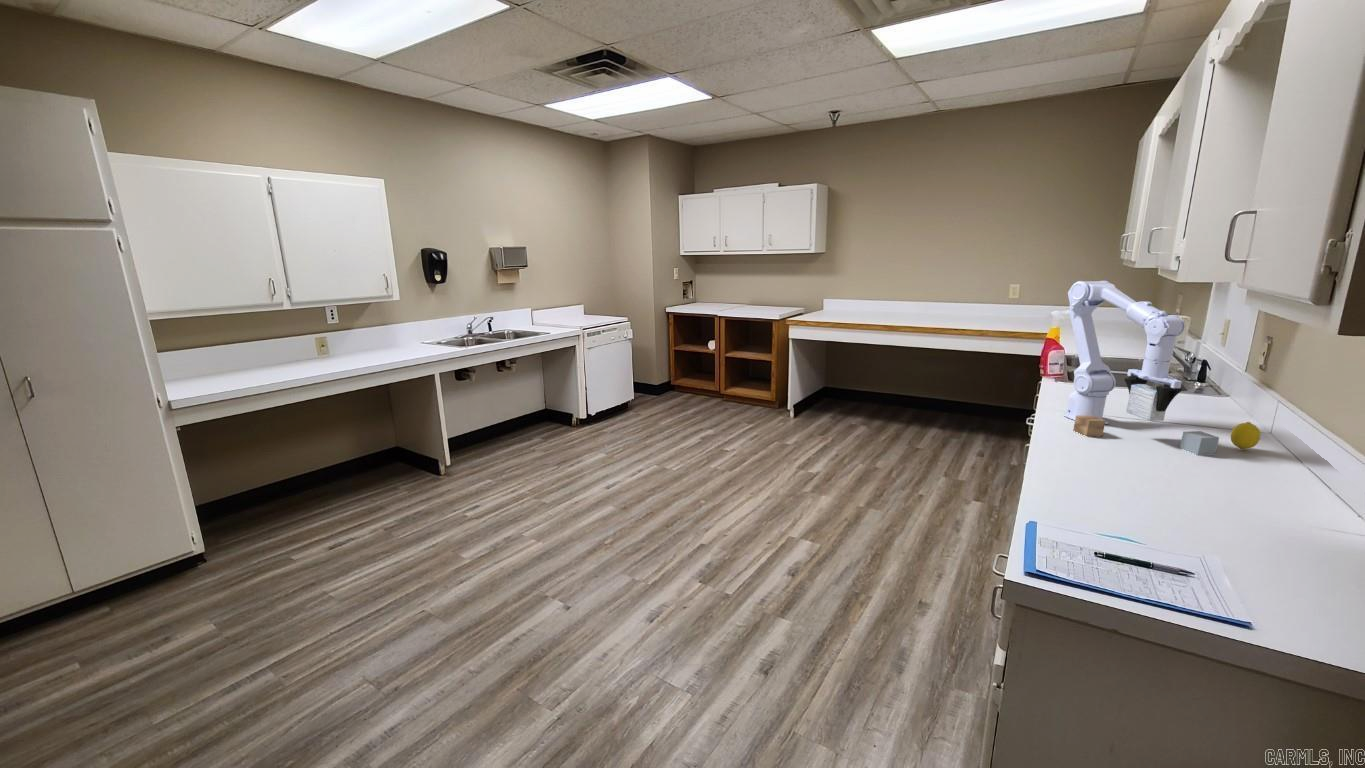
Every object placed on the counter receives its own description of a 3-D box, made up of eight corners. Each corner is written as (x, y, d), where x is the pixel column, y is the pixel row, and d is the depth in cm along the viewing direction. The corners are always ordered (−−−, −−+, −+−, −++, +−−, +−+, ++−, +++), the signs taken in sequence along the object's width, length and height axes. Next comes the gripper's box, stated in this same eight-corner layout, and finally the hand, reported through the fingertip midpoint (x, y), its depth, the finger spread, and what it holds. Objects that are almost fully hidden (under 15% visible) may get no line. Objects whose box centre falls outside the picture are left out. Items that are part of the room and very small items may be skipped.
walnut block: (1073, 431, 165) (1075, 415, 164) (1088, 430, 165) (1091, 415, 164) (1085, 437, 160) (1089, 420, 159) (1102, 436, 160) (1105, 420, 159)
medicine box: (1164, 421, 152) (1171, 391, 150) (1148, 421, 152) (1155, 391, 150) (1139, 412, 160) (1146, 383, 157) (1125, 412, 159) (1131, 383, 157)
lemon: (1243, 446, 152) (1250, 419, 149) (1261, 454, 146) (1269, 425, 144) (1221, 446, 152) (1228, 418, 150) (1239, 453, 147) (1246, 425, 145)
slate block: (1179, 448, 151) (1183, 431, 149) (1196, 448, 151) (1200, 431, 150) (1197, 455, 146) (1201, 438, 144) (1214, 455, 146) (1219, 437, 145)
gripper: (1121, 354, 158) (1112, 399, 162) (1168, 365, 144) (1157, 414, 148) (1144, 354, 159) (1135, 399, 162) (1193, 365, 145) (1181, 414, 148)
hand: (1147, 406), depth 155 cm, fingers closed on medicine box, 7 cm apart
